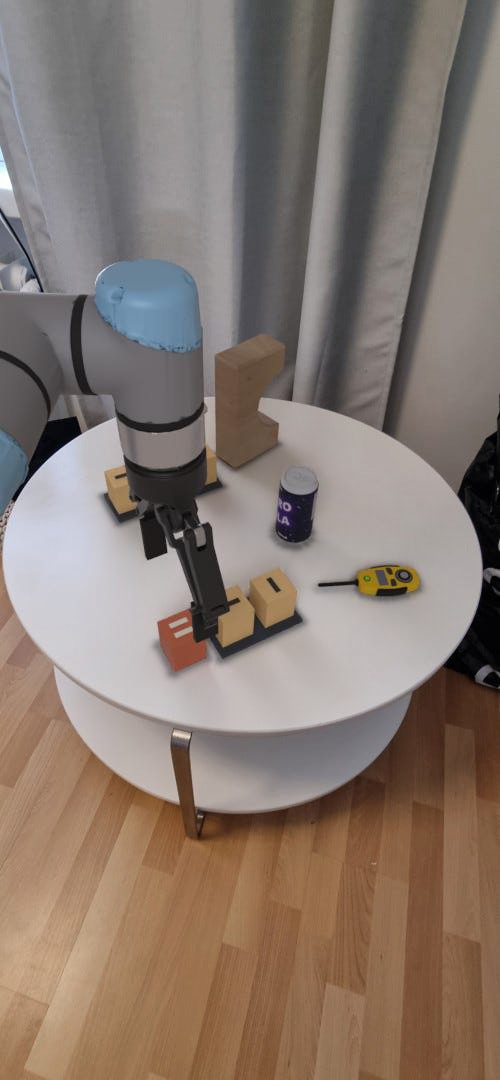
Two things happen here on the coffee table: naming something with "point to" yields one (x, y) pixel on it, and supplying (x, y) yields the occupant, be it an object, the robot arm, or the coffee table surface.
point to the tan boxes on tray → (256, 613)
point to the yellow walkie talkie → (383, 581)
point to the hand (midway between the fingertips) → (179, 593)
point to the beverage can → (296, 503)
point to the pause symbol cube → (180, 640)
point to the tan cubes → (120, 488)
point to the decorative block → (245, 398)
